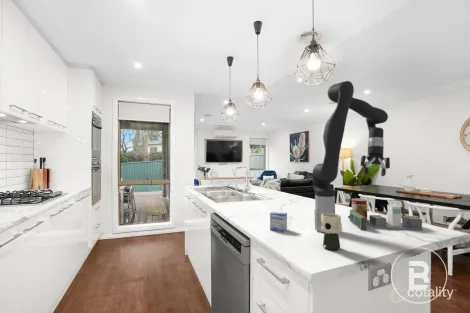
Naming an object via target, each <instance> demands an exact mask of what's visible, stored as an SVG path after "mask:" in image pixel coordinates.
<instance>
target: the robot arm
mask: <svg viewBox="0 0 470 313" xmlns="http://www.w3.org/2000/svg"><path fill="white" fill-rule="evenodd" d="M354 90H355V87H354V85H353V82H352V81H350V80H345V81H341V82H338V83H335V84H332V85H330V86H329V87H328V89H327V97H328V99H329V101H331V102H333V103H336V107H335V109H334V111H333V112H332V113H331V115H330V116H329V118H328V119H327V121H326V123H325V125H324V129H323V135H322V139H323V145H324V152H325V154H324V159H323V161H322V163H317V164H316V165H314V167H313V169H312V186H313V187H312V188H313V190H314V201H315V202H314V207H315V208H314V229H315V231H316V232H320V233H325V232H324V231H322V228H321V226H322V223H321V215H322V214H325V213H330V214H336V193H335V189H334V188H333V187H332V186H331V183H332V182H335V180H336V179H337V177H338V175H339V174H338V173H339V163H340V162H339V161H340V154H341V148H342V144H343V138H344V134H345V127H346V123H347V118H348V113H349V110H352V111H353V112H355V113H356V114H358V115H360V116H361V117H363V118H365V122H366V125H367V129H368V142H367V155H361V157H360V167H362V168H363V173H364V175H366V176H367V175H369V167H370V165H375V166H376V165H378V166H379V167H380V168H381V171H380V172H381V173H380V174H381V177H385V176H386V174H387V170H388V169H391V168H390V167H391V163H390V162H391V161H390V160H391V158H390V157H384V150H385V149H384V148H385V146H384V144H385V141H384V129H383V128H382V127H377V126H376V125H380V124H383V123H386V122H387V121H388V119H389V116H388V115H389V114H388V112H386V111H385V110H384V109H382V108H379V107H375V106H373V105H371V104H370V103H368V102H367V101H366V100H362V99H359V98H356V97H354V93H355V91H354ZM366 160H367V161H366Z"/></svg>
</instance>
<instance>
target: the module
mask: <svg viewBox="0 0 470 313" xmlns="http://www.w3.org/2000/svg"><path fill="white" fill-rule="evenodd" d="M386 206H387V223H388V224H390V225H391V226H401V223H402V208H401V207H402V206H400V205H398V204H387V205H386Z"/></svg>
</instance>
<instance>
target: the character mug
mask: <svg viewBox="0 0 470 313" xmlns="http://www.w3.org/2000/svg"><path fill="white" fill-rule="evenodd" d="M341 217H342V216H341V215H340V214H338V213H337V214H336V213H335V214H330V213H325V214H322V215H321V223H322V226H321V228H322V231H324V232H323V233H324V234H323V242H322V247H323V248H325V249H327V250H333V251H335V250H338V249H340V248H341V243H340V236H339V234H340V233H341V232H342V230H343V227H342V226H343V224H342V218H341Z"/></svg>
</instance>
